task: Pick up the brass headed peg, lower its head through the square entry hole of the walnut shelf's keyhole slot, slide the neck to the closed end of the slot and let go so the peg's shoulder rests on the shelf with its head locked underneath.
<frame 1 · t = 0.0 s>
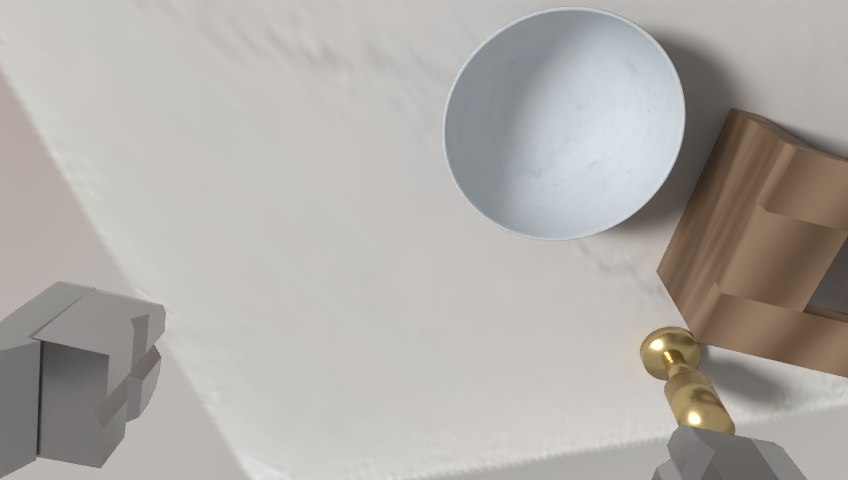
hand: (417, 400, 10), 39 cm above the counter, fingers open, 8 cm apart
chinaware: (546, 103, 47), on the counter
brass peg: (668, 349, 55), on the counter
keyhole shelf: (836, 231, 50), on the counter
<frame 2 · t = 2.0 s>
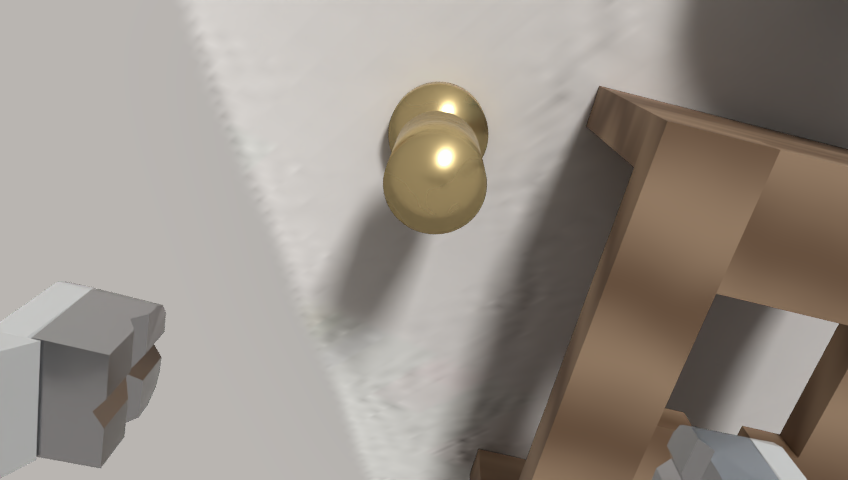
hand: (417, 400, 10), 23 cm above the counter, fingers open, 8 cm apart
brass peg: (438, 131, 31), on the counter
keyhole shelf: (648, 332, 35), on the counter
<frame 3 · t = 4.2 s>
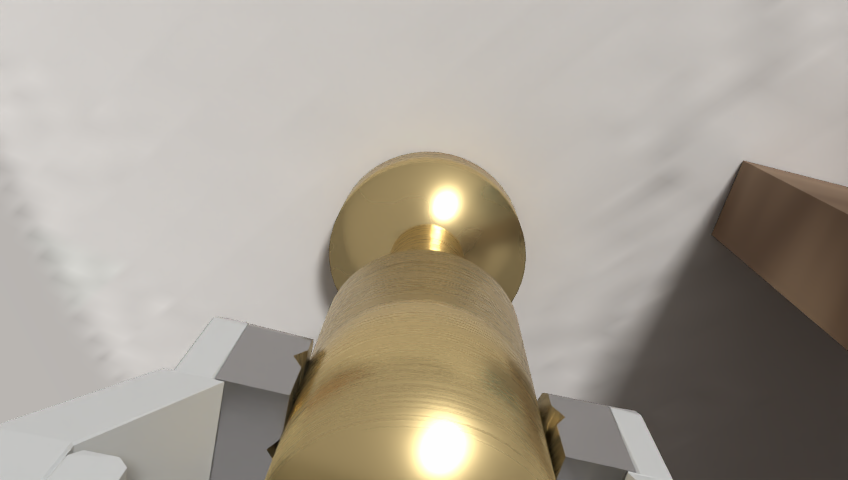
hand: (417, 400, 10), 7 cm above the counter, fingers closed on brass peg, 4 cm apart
brass peg: (428, 242, 17), on the counter, touching gripper
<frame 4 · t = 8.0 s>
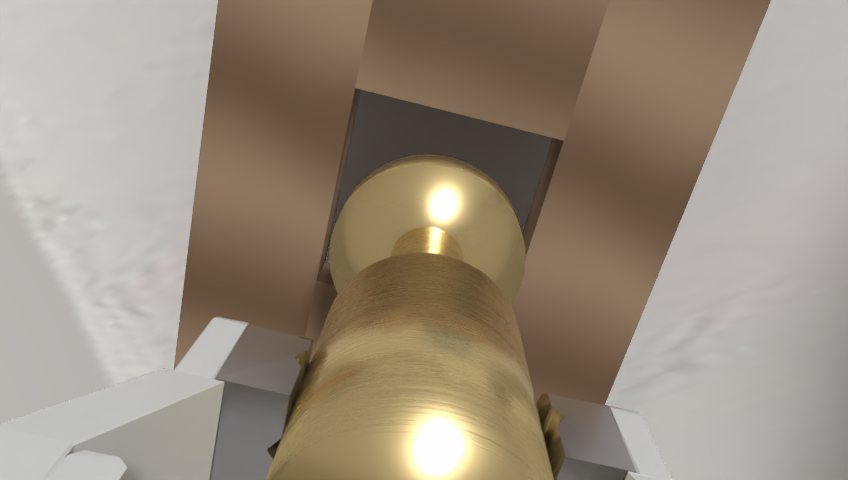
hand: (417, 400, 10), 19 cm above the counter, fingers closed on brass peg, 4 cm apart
brass peg: (428, 244, 17), point 12 cm above the counter, touching gripper
keyhole shelf: (420, 217, 29), on the counter
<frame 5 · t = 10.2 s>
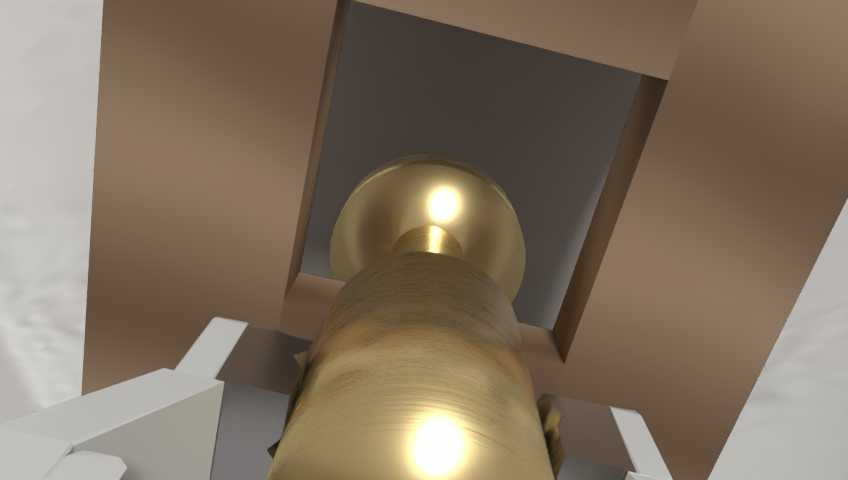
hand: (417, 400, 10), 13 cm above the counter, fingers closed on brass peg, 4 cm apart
brass peg: (428, 243, 17), point 6 cm above the counter, touching gripper
keyhole shelf: (430, 209, 23), on the counter
when the fingers open (12 cm above the counter, at t = 12.1 s): brass peg stays where it is, resting on keyhole shelf.
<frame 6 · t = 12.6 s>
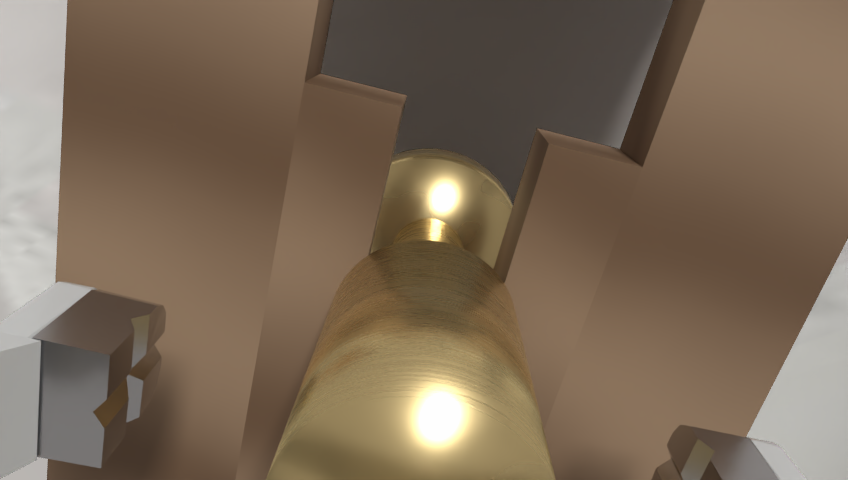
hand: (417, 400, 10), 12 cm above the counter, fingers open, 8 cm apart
brass peg: (428, 235, 17), point 5 cm above the counter, touching keyhole shelf
keyhole shelf: (456, 86, 20), on the counter
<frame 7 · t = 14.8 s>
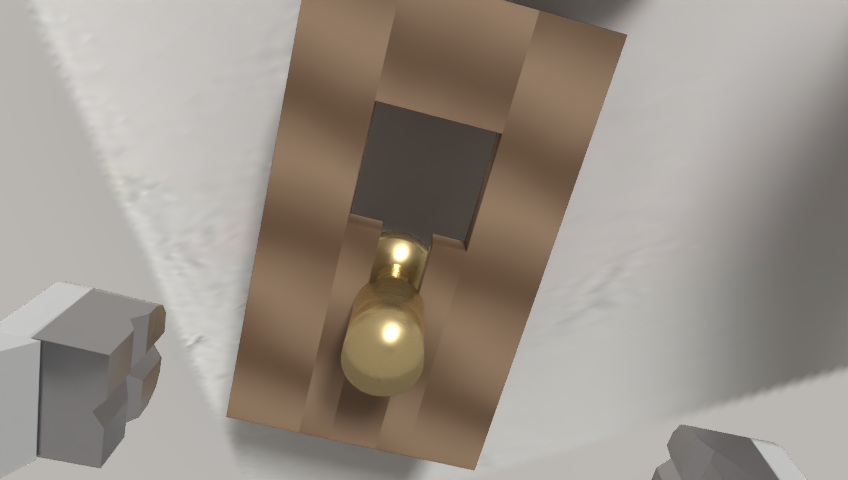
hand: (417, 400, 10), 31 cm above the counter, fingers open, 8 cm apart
brass peg: (393, 270, 37), point 5 cm above the counter, touching keyhole shelf
keyhole shelf: (409, 191, 40), on the counter
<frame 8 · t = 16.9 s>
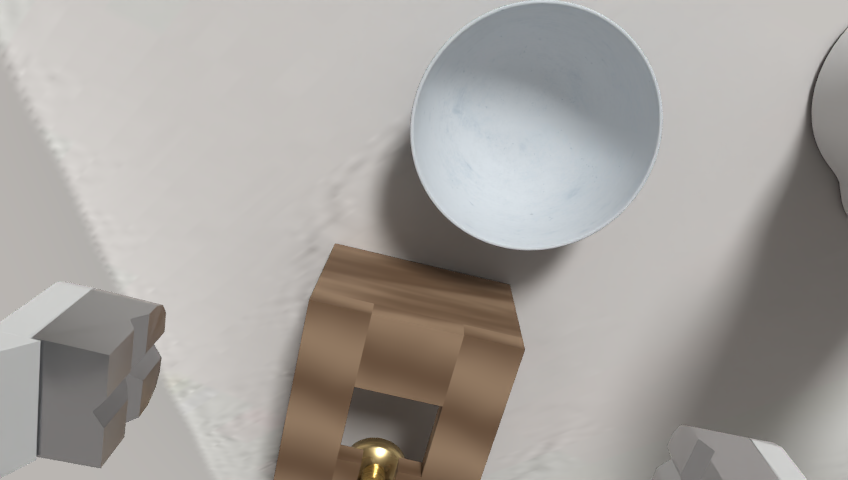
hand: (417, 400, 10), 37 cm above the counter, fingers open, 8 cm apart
chinaware: (520, 112, 45), on the counter
brass peg: (375, 462, 50), point 5 cm above the counter, touching keyhole shelf
keyhole shelf: (389, 391, 53), on the counter
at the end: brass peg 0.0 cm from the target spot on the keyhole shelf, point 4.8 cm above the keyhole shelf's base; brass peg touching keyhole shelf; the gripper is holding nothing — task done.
